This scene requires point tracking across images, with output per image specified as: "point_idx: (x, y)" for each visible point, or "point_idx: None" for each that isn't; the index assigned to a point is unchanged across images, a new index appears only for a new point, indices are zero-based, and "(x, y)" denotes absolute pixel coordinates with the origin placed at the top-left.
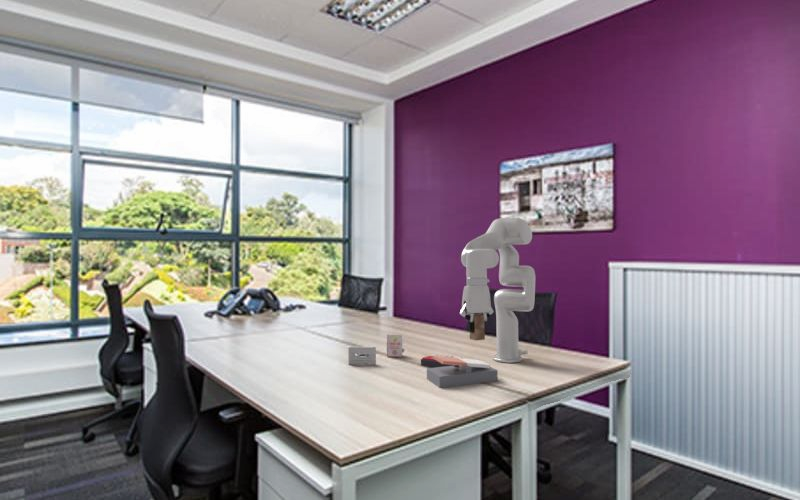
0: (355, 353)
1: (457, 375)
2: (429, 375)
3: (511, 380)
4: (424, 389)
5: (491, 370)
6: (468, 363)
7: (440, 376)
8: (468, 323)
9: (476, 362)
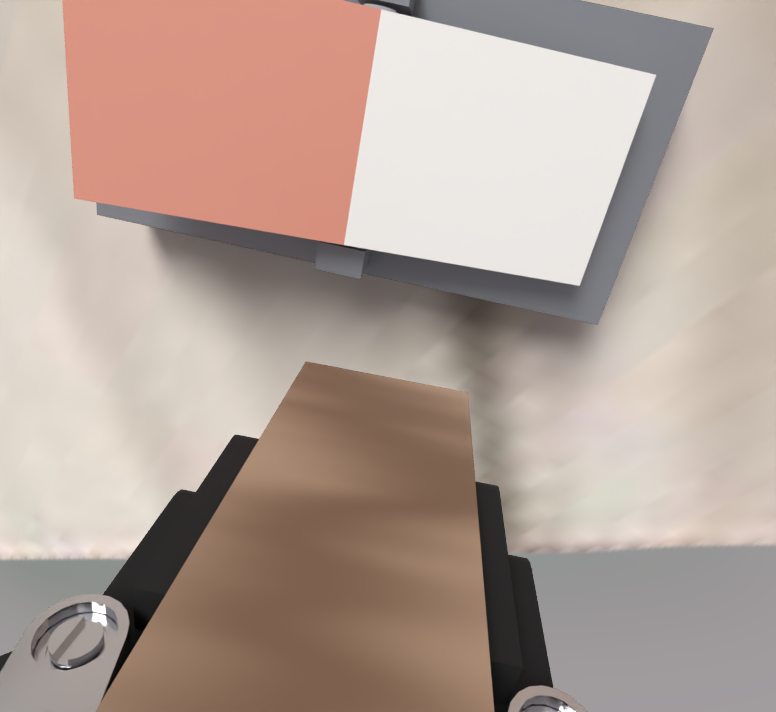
0: None
1: (247, 245)
2: None
3: (661, 343)
4: (38, 172)
5: (550, 306)
6: (359, 245)
7: (107, 211)
8: (116, 595)
9: (491, 206)
